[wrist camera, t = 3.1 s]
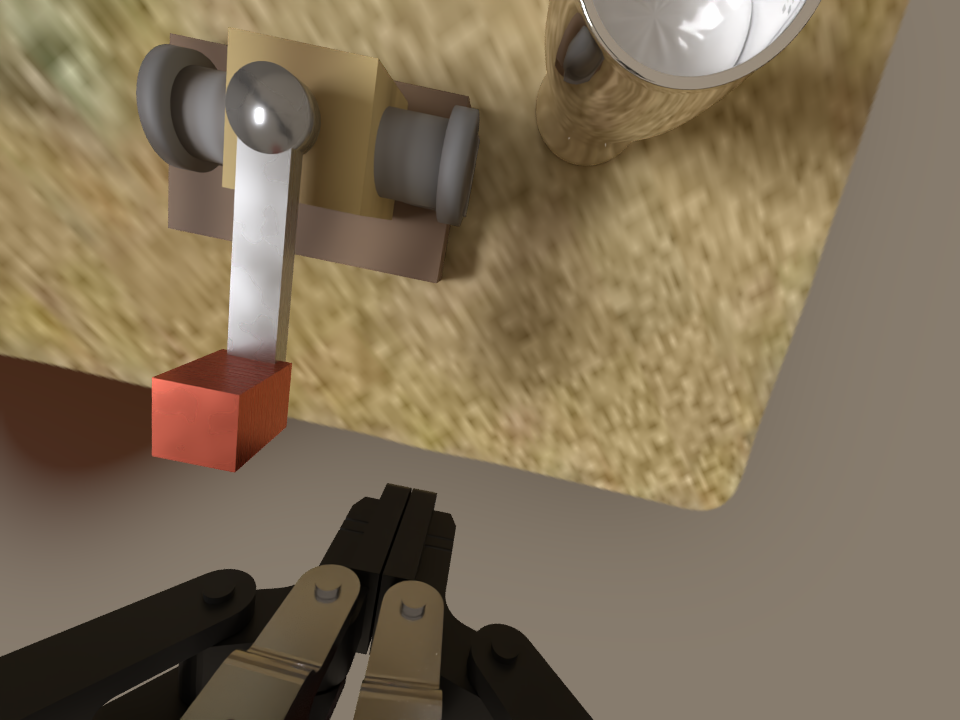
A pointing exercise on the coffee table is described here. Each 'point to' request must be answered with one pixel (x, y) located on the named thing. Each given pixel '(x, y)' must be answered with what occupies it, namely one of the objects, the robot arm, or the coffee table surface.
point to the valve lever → (247, 285)
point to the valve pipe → (319, 151)
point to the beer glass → (649, 65)
